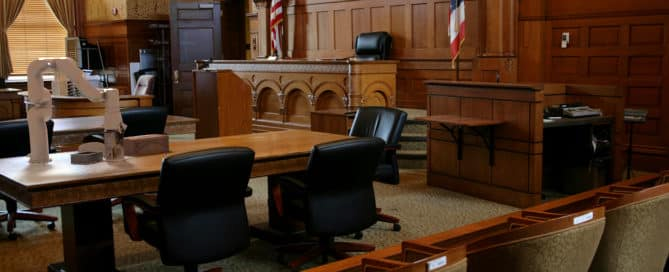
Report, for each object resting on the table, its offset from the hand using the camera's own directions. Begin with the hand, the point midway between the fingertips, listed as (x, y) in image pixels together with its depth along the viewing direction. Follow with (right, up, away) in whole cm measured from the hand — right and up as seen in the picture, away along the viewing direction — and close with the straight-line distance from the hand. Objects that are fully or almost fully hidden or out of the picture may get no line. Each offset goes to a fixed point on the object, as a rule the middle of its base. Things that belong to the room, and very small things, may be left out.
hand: (114, 139), depth 406 cm
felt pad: (0, -12, +1) cm, 12 cm away
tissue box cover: (+9, -9, +32) cm, 34 cm away
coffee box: (0, -11, +1) cm, 11 cm away
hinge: (-18, -11, +15) cm, 26 cm away
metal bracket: (-14, -13, -4) cm, 20 cm away
